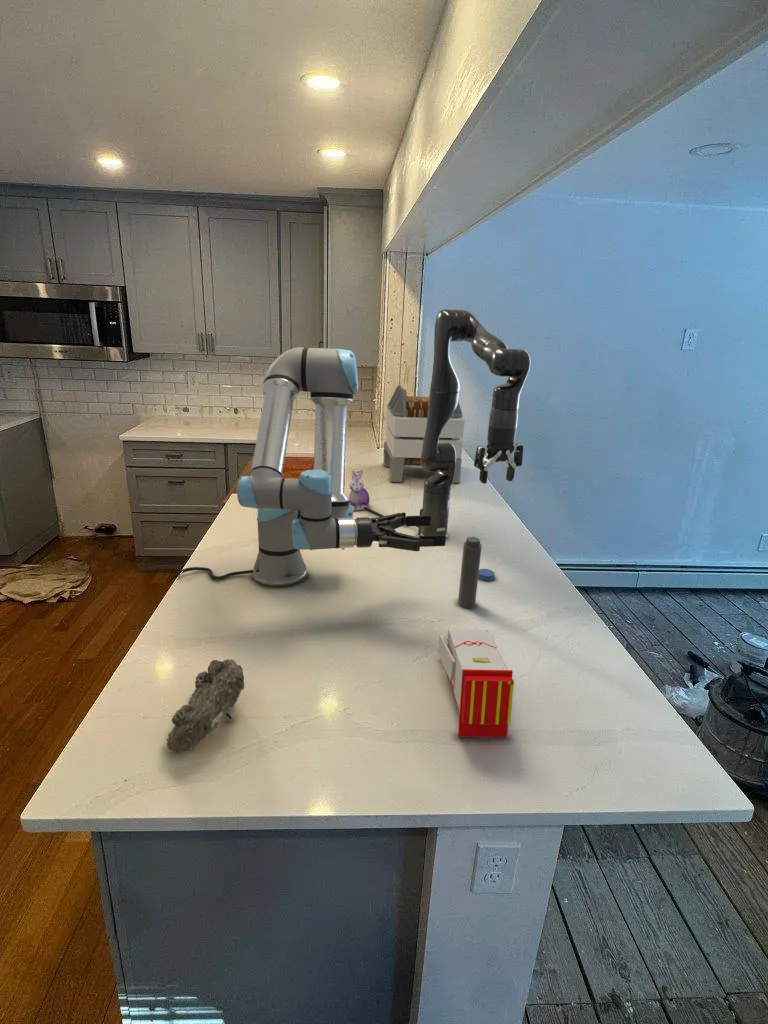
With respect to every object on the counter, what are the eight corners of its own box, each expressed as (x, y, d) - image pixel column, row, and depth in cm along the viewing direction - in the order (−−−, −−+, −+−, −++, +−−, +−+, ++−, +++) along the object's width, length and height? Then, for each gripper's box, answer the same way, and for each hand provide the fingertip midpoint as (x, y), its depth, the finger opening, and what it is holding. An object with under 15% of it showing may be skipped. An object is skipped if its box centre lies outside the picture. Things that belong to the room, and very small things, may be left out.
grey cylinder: (454, 602, 154) (460, 538, 148) (465, 598, 157) (472, 534, 151) (467, 609, 151) (474, 544, 145) (478, 604, 154) (485, 540, 148)
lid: (489, 582, 167) (490, 577, 166) (474, 578, 169) (474, 572, 169) (496, 576, 171) (497, 571, 170) (481, 572, 173) (481, 567, 173)
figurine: (353, 512, 218) (354, 475, 213) (342, 504, 226) (343, 468, 221) (375, 509, 222) (376, 473, 217) (363, 501, 230) (364, 466, 225)
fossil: (192, 660, 117) (244, 628, 112) (224, 691, 120) (276, 661, 115) (142, 746, 98) (202, 712, 93) (182, 779, 101) (242, 748, 96)
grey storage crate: (382, 463, 289) (386, 382, 275) (445, 464, 293) (451, 384, 279) (390, 482, 257) (394, 392, 243) (460, 483, 261) (468, 394, 247)
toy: (488, 613, 130) (523, 677, 101) (484, 667, 133) (517, 744, 104) (435, 612, 130) (455, 676, 101) (432, 666, 133) (451, 743, 103)
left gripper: (348, 528, 153) (423, 525, 158) (362, 568, 130) (450, 564, 135) (348, 502, 151) (425, 500, 155) (363, 538, 128) (453, 534, 132)
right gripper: (516, 421, 160) (509, 476, 166) (473, 423, 155) (467, 479, 160) (532, 426, 154) (525, 483, 159) (488, 428, 148) (481, 487, 154)
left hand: (437, 529), depth 145 cm, fingers open, 13 cm apart
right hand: (496, 481), depth 160 cm, fingers open, 8 cm apart
